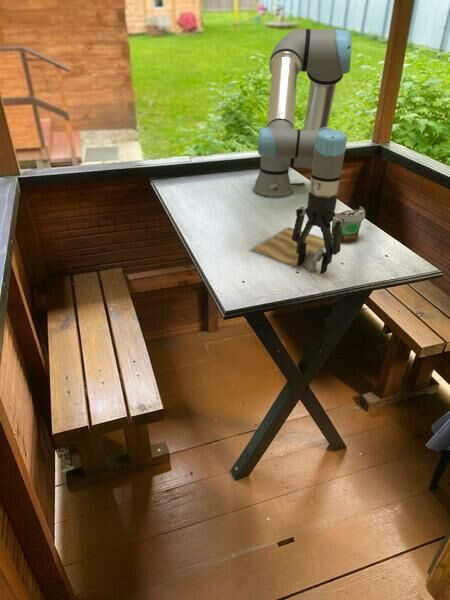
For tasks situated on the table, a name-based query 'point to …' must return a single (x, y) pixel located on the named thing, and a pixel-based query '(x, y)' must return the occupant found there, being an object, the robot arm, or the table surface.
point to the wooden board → (287, 247)
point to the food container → (350, 224)
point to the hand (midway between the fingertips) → (311, 268)
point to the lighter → (313, 259)
